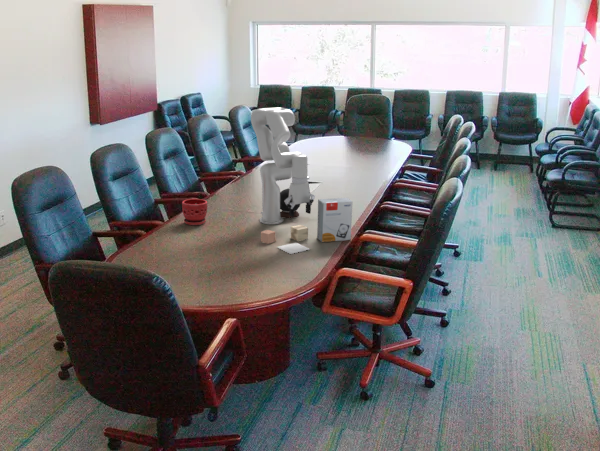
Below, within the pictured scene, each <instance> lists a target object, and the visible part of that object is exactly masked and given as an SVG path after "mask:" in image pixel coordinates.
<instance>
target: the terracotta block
mask: <svg viewBox="0 0 600 451" xmlns="http://www.w3.org/2000/svg"><path fill="white" fill-rule="evenodd" d="M260 242H261V243H264V244H268V245H270V244H272V243H274V242H276V231H274V230H270V229H266V230H265V229H264V230H263V231H260Z"/></svg>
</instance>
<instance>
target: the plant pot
mask: <svg viewBox="0 0 600 451" xmlns="http://www.w3.org/2000/svg"><path fill="white" fill-rule="evenodd" d="M181 208H182V209H181V211H182V214H183V218H184V219H183V222H184V223H185V224H186V225H189V226H200V225H203V224H205V223H206V221H207V219H206V216H207V213H208V201H207V200H206V199H201V198H190V199H185V200H182V202H181Z"/></svg>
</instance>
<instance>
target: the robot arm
mask: <svg viewBox="0 0 600 451" xmlns="http://www.w3.org/2000/svg"><path fill="white" fill-rule="evenodd" d="M250 121H251V122H250V123H251V126H252V129H253V131H254V133H255V135H256V141H257V147H258V151H259V158H260V159H261V161H265V162H268V163H265V164H263V165H261V167H260V169H259V173H260V179H261V190H262V191H261V193H262V194H261V196H262V197H261V198H262V201H261V202H262V208H261V210H262V211H260V215H262V217H260V218H259V223H261V224H264V225H278V224H281V223H283V222H284V218H282V217H280V212H281V209H280V192H281V189H280V186H279V185H278V183H277V181H285V180H286V181H287V180H289V179H291V183H290V185H289V188H288V189H289V197H288V198H287V199H286V200H284V202H285V204H286V206H287V207H288V208H289V215H290V216H292V217H294V209H293V207H294V206H295V204H300V205H301V204H305V213H307V214H311V210H312V208H311V207H312V205H313V203H314V201H315V198H316V195H314V194H312V193H311V189H310V183H309V180H310V177H309V176H308V155H307V154H303V153H302V152H301V151H291V150H290V148H289V147H290V146H289V145H288V144H287V141H288V140H289V139H290V138H291V131H290V130H289V127H292V126H293V125H294V124H295V122H296V116H295V114H294V112H293V111H292V110H291V109H289V108H285V107H281V106H280V107H277V106H276V107H262V108H257V109H254V110H253V111H252V112H251V114H250ZM266 125H268V126H266ZM270 161H274V162H270ZM289 203H290V204H289Z"/></svg>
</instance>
